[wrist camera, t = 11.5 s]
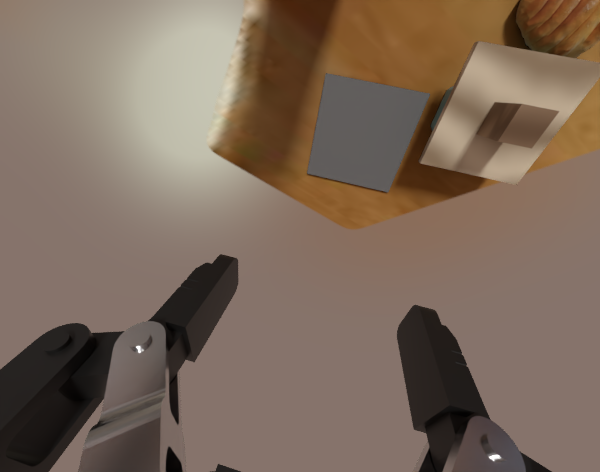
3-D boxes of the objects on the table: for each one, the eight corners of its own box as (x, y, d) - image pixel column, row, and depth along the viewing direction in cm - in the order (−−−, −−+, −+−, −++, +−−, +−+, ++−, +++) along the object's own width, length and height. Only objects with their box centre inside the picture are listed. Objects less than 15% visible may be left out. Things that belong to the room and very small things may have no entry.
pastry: (492, 34, 27) (511, 25, 24) (549, -46, 23) (581, -69, 20) (555, 71, 27) (581, 67, 24) (620, -1, 24) (661, -16, 20)
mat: (326, 73, 32) (325, 73, 32) (429, 93, 31) (430, 93, 31) (307, 172, 40) (307, 173, 40) (387, 191, 39) (388, 192, 39)
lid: (474, 42, 24) (505, 29, 19) (600, 65, 23) (668, 58, 18) (418, 161, 31) (430, 174, 26) (512, 182, 30) (542, 199, 25)
